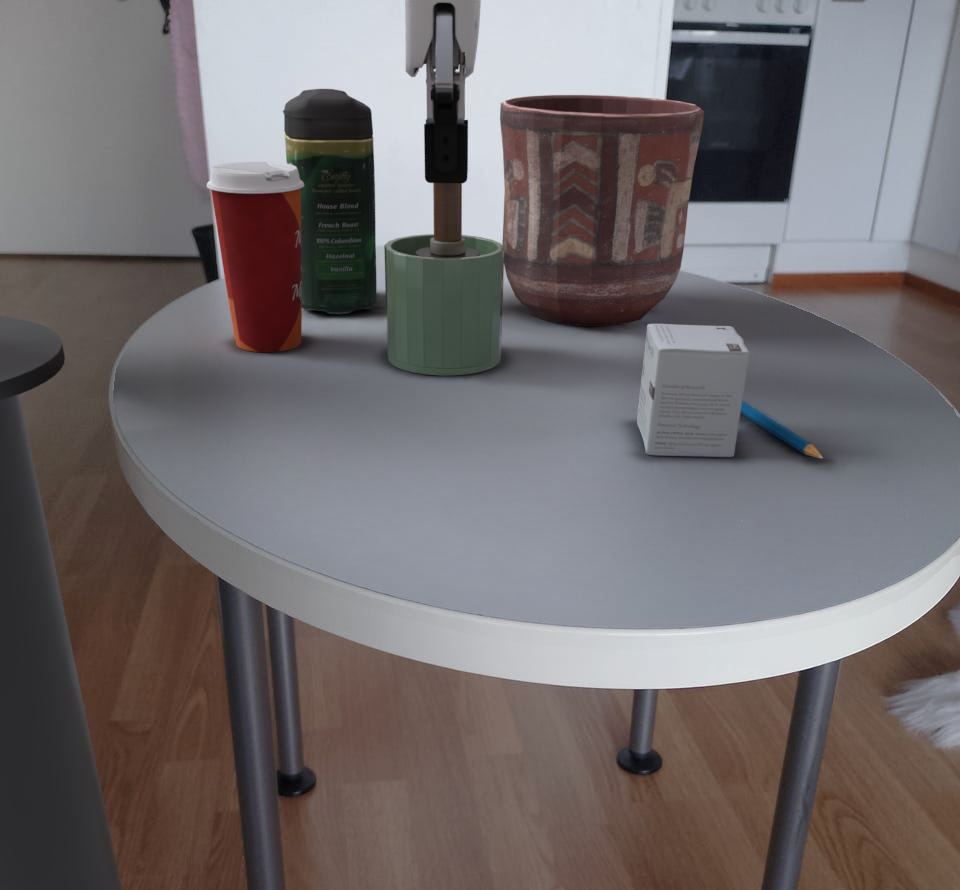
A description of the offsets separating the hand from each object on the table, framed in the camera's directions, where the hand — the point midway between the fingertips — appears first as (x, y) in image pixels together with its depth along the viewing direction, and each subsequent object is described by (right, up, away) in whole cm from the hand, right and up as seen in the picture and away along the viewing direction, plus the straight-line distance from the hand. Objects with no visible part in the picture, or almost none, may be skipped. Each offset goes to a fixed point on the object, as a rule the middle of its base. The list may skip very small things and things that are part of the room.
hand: (446, 177), depth 83 cm
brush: (0, -8, +5) cm, 10 cm away
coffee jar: (-11, -3, +22) cm, 25 cm away
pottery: (+13, -4, +21) cm, 25 cm away
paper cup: (-16, -10, +10) cm, 21 cm away
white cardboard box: (+17, -22, -8) cm, 29 cm away
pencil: (+23, -20, -4) cm, 30 cm away
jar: (0, -12, +7) cm, 14 cm away
